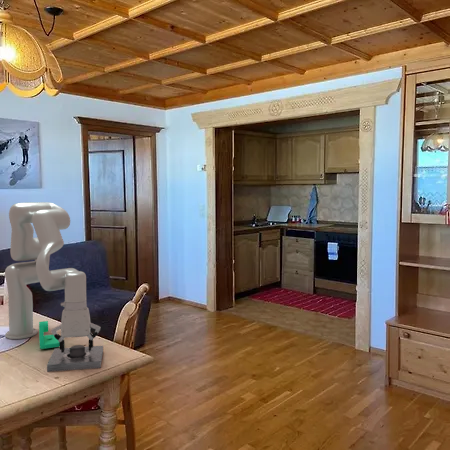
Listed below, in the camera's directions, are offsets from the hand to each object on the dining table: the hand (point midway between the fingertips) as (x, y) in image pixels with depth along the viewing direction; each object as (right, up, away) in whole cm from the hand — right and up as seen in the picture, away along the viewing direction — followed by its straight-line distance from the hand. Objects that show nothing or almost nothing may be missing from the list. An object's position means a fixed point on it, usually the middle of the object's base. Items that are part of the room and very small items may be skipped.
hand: (76, 350), depth 164 cm
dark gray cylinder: (0, -4, +1) cm, 4 cm away
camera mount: (-17, -3, +17) cm, 24 cm away
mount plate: (0, -4, 0) cm, 4 cm away
